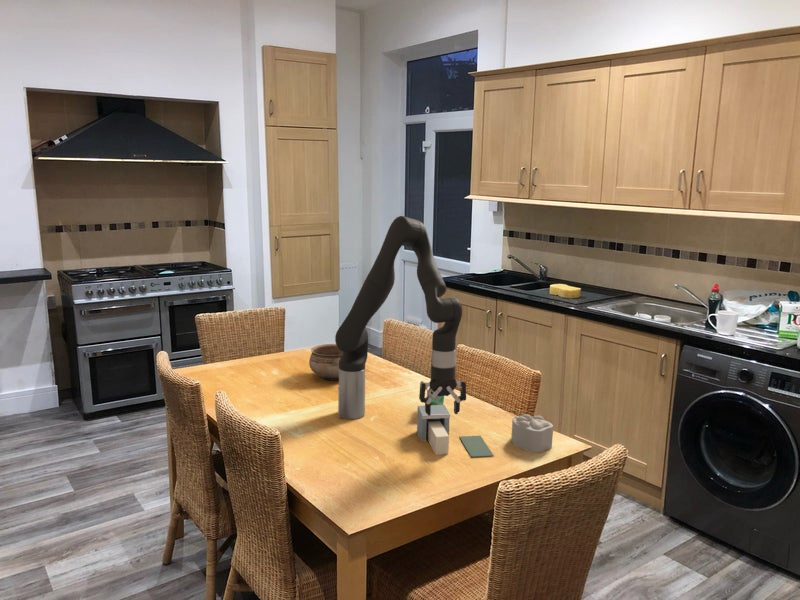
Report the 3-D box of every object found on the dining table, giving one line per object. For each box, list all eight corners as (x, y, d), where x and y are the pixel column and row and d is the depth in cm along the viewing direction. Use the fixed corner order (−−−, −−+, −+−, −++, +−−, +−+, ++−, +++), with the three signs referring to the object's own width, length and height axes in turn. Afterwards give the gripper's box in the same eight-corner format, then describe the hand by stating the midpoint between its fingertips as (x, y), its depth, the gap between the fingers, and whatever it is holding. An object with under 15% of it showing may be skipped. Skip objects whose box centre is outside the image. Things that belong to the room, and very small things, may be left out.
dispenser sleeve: (421, 441, 204) (422, 415, 203) (417, 431, 213) (417, 405, 211) (449, 440, 206) (450, 414, 204) (443, 430, 214) (444, 404, 212)
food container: (443, 418, 224) (444, 391, 222) (426, 417, 225) (426, 390, 223) (447, 406, 236) (448, 380, 234) (431, 404, 237) (432, 379, 235)
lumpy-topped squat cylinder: (535, 454, 197) (537, 428, 195) (503, 440, 207) (504, 415, 205) (556, 446, 203) (557, 420, 202) (524, 433, 213) (525, 408, 212)
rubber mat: (471, 457, 194) (471, 456, 194) (459, 437, 208) (459, 436, 208) (493, 456, 195) (493, 455, 195) (480, 436, 209) (480, 435, 209)
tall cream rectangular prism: (435, 455, 195) (436, 436, 194) (427, 439, 207) (427, 421, 206) (448, 454, 196) (449, 436, 195) (439, 438, 208) (440, 421, 207)
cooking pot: (367, 381, 262) (368, 352, 260) (328, 390, 251) (328, 360, 248) (335, 366, 281) (335, 339, 279) (297, 374, 270) (297, 346, 268)
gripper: (422, 367, 188) (421, 419, 191) (469, 366, 191) (467, 417, 194) (418, 360, 196) (417, 410, 199) (463, 359, 198) (461, 408, 201)
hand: (442, 413), depth 196 cm, fingers open, 8 cm apart
